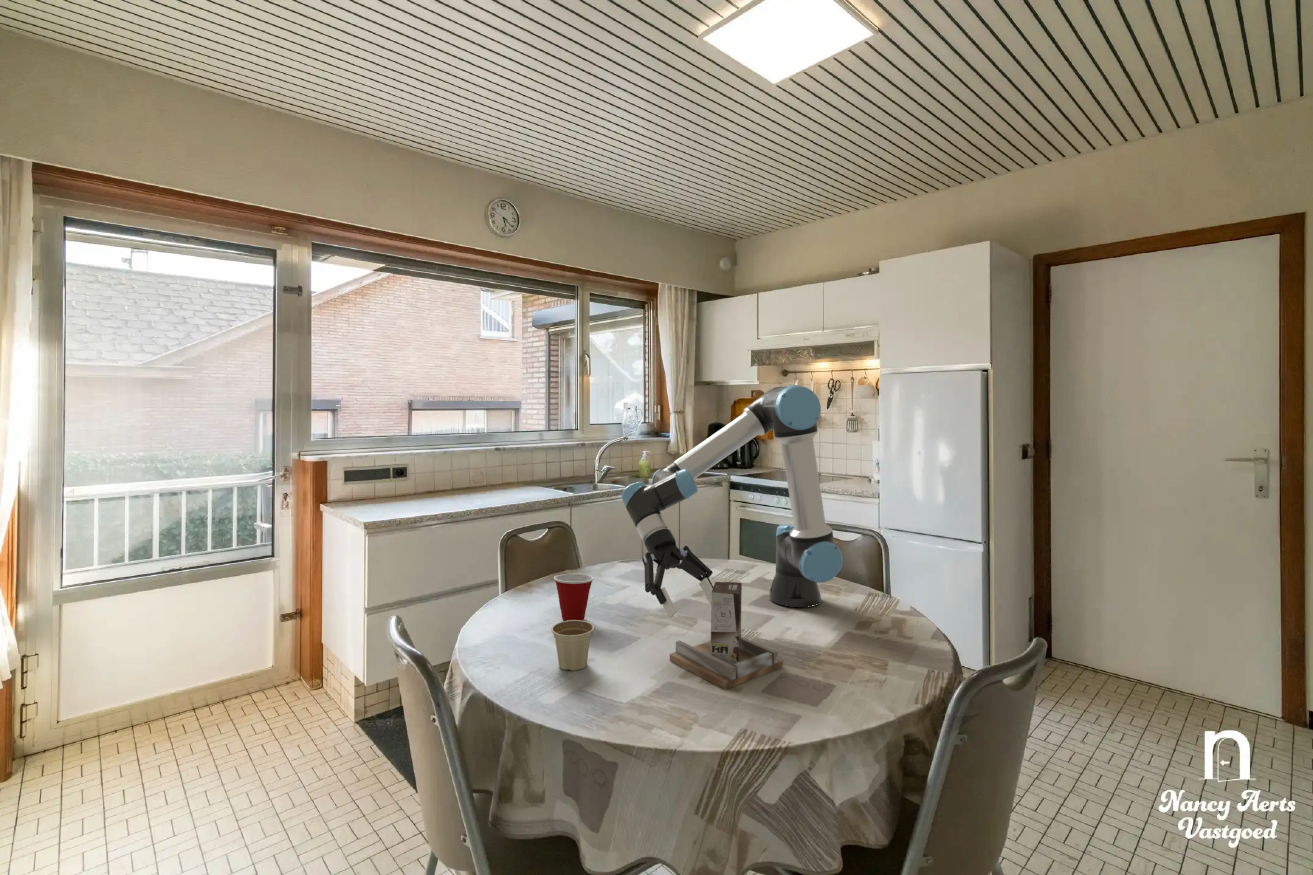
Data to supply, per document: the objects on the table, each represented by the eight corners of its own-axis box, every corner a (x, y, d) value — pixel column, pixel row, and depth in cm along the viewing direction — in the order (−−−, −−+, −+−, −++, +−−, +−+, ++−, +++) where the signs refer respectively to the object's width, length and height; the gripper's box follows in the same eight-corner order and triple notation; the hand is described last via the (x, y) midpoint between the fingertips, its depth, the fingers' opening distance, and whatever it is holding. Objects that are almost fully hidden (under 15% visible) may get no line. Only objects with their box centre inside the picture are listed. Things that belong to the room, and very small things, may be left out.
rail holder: (725, 642, 151) (726, 626, 150) (782, 667, 136) (783, 649, 136) (669, 660, 139) (669, 643, 139) (725, 689, 125) (725, 670, 125)
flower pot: (575, 678, 130) (575, 638, 129) (542, 667, 135) (542, 629, 134) (602, 662, 138) (602, 625, 137) (570, 653, 143) (570, 617, 142)
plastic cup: (600, 615, 169) (600, 572, 168) (582, 629, 158) (583, 583, 158) (565, 611, 172) (565, 569, 171) (546, 623, 162) (546, 579, 161)
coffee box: (738, 666, 133) (740, 593, 132) (709, 663, 134) (710, 591, 133) (741, 650, 142) (742, 581, 141) (713, 647, 143) (715, 580, 142)
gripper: (686, 538, 167) (724, 606, 156) (610, 550, 151) (646, 627, 140) (699, 521, 162) (739, 591, 151) (622, 533, 147) (661, 611, 136)
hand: (694, 609), depth 146 cm, fingers open, 13 cm apart
